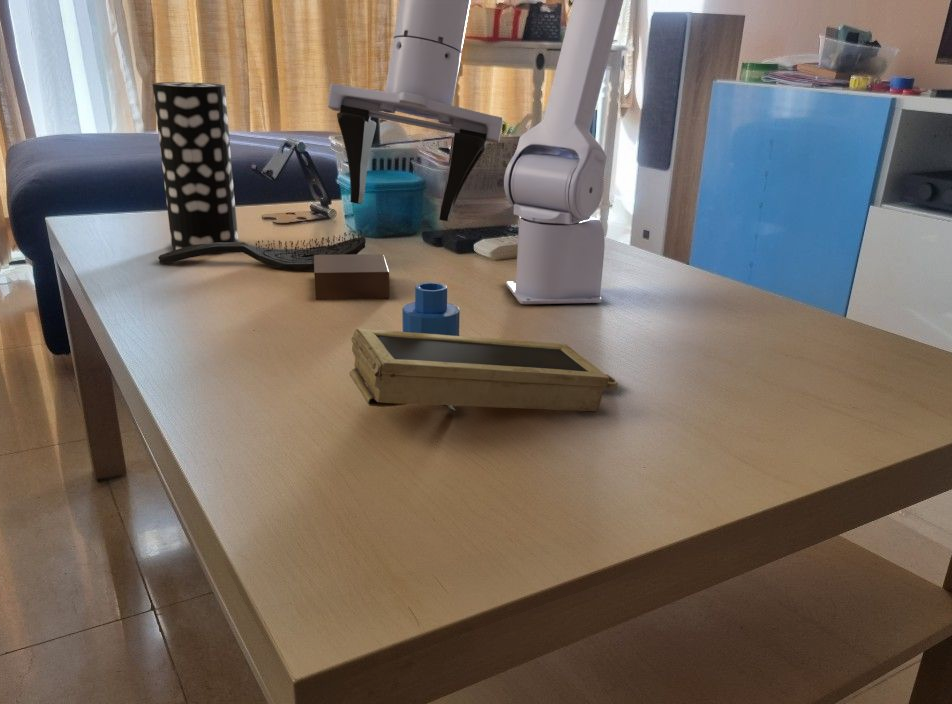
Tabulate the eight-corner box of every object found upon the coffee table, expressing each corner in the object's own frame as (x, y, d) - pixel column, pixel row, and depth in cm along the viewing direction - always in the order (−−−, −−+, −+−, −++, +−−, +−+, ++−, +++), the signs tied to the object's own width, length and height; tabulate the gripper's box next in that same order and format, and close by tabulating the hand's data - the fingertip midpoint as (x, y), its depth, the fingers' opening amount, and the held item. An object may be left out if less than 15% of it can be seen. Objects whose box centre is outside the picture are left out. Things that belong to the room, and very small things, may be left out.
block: (383, 278, 100) (383, 254, 98) (389, 298, 92) (389, 271, 91) (315, 279, 98) (313, 254, 97) (315, 299, 91) (314, 272, 90)
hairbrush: (163, 232, 104) (365, 224, 108) (168, 261, 106) (367, 252, 109) (147, 248, 97) (365, 238, 100) (153, 279, 98) (368, 268, 102)
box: (341, 386, 65) (349, 325, 64) (584, 395, 76) (598, 343, 74) (369, 431, 59) (379, 365, 57) (632, 434, 69) (648, 378, 67)
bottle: (453, 351, 78) (454, 278, 75) (462, 371, 73) (463, 294, 71) (400, 353, 77) (399, 279, 74) (406, 373, 72) (405, 295, 70)
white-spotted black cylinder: (252, 246, 111) (239, 86, 103) (200, 257, 105) (182, 87, 97) (210, 236, 115) (194, 81, 107) (158, 246, 109) (137, 82, 101)
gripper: (330, 17, 65) (305, 193, 68) (512, 54, 66) (481, 227, 68) (348, 38, 72) (325, 197, 75) (513, 72, 73) (484, 228, 75)
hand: (400, 212), depth 72 cm, fingers open, 7 cm apart
